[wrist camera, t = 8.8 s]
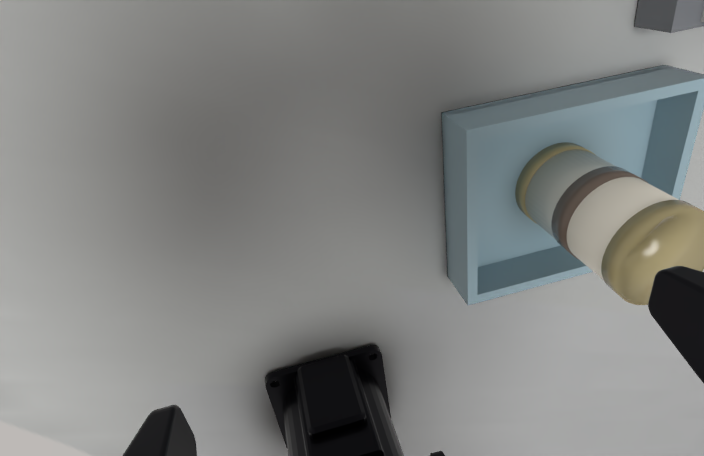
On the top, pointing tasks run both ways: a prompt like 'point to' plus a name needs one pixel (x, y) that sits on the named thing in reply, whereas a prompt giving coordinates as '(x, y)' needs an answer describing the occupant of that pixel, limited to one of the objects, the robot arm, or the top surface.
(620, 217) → the fuse
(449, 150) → the tray
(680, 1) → the fuse block
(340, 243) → the top surface
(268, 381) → the robot arm
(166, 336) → the top surface
